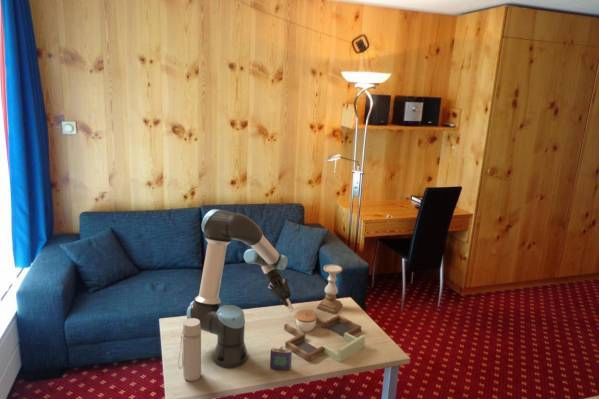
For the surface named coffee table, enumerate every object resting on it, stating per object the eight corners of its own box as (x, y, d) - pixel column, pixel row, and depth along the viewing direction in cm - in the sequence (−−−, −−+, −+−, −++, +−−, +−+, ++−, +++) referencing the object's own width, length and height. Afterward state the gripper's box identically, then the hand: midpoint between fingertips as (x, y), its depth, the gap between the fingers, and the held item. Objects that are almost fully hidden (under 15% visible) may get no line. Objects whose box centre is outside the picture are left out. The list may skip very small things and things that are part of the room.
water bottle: (199, 369, 190) (199, 316, 184) (202, 380, 183) (202, 325, 177) (177, 373, 187) (176, 319, 181) (179, 384, 180) (178, 329, 174)
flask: (291, 367, 195) (292, 345, 193) (290, 371, 192) (291, 349, 190) (270, 365, 196) (271, 344, 193) (269, 370, 193) (270, 348, 190)
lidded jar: (314, 323, 232) (315, 307, 230) (317, 334, 222) (318, 317, 220) (293, 323, 231) (294, 307, 229) (295, 335, 221) (296, 317, 218)
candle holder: (334, 314, 242) (337, 273, 237) (316, 308, 248) (319, 268, 242) (342, 306, 252) (346, 267, 246) (325, 301, 257) (328, 262, 251)
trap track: (268, 337, 217) (269, 326, 216) (321, 311, 245) (322, 301, 243) (324, 372, 193) (325, 359, 192) (376, 339, 221) (377, 328, 219)
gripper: (276, 271, 247) (296, 309, 240) (258, 277, 238) (279, 317, 231) (283, 265, 242) (304, 304, 235) (265, 271, 233) (286, 312, 226)
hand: (291, 311), depth 233 cm, fingers closed
